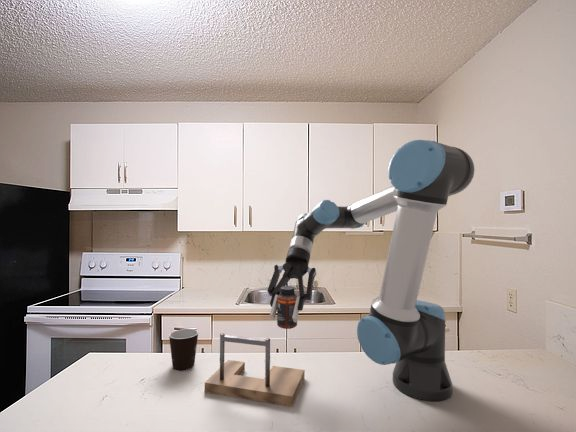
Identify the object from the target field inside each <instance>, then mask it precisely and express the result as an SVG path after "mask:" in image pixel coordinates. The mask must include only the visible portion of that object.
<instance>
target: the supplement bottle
mask: <svg viewBox="0 0 576 432" xmlns="http://www.w3.org/2000/svg"><path fill="white" fill-rule="evenodd" d="M297 297H298V296H297V294H296V293H295V286H290V285H287V286H286V285H285V286H283V287H281V293H280V294H279V295H278V298H277V312H276V316H277V317H276V323H277V327H279V328H281V329H285V330H286V329H287V330H290V329H294V328H296V327H297V326H298V322H297V323H296V322H294V321H293V319H292V316H293V312H294V307H295V303H296V299H297Z"/></svg>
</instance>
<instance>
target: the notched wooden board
mask: <svg viewBox="0 0 576 432" xmlns="http://www.w3.org/2000/svg"><path fill="white" fill-rule="evenodd" d="M245 363H246V362H245V361H240V360H233V359H227V360H226V361H224V380H220V367H219V368H218V369H217V370H216V371H215V372H214V373H213V374H212V375H210V377H208V378H207V379H206V380H205V382H204V392H205V393H207V394H215V395H219V396H220V395H221V396H225V397H233V398H238V399H242V400H250V401H256V402H260V403H261V402H262V403H267V404H268V403H269V404H272V405H273V404H274V405H281V406H286V407H291V408H292V407H294V405H295V403H296V400H297V397H298V395H299V393H300V390H301V388H302V386H303V384H304V381H305V369H299V368H292V367H286V366H279V365H278V366H277V365H273V366H272V367H270V386H269V387H266V386H265V377H264V378H259V377H251V376H245V375H242V374H243V373H244V371H246V369H245V368H246V367H245V366H246V364H245Z"/></svg>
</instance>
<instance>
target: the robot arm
mask: <svg viewBox="0 0 576 432" xmlns="http://www.w3.org/2000/svg"><path fill="white" fill-rule="evenodd" d="M475 171H476V170H475V164H474V161H473V159H472V157H471V156H470V155H469V153H467V152H466V150H465V151H464V150H463V149H461V148H459V147H455V146H450V145H446V144H443V143H440V142H438V141H435V140H429V139H427V140H426V139H413V140H410V141H408V142H407V143H404V144H403V145H401V147H400V148H398V149H397V150H396V151H395V152H394V153H393V156H392V157H391V159H390V161H389V164H388V168H387V174H388V179H389V181H390V184H391V186H389V187H386V188H384V189H382V190H380V191H378V192H376V193H373V194H372V195H369V196H367V197H365V198H362V199H360V200H358V201H356V202H354V203H352V204H349V205H346V206H338V204H336V203H335V202H333V201H331V200H330V199H324V200H321V201H320V202H319V203H318V204H316V205H315V206H314V207H313V208H312V209H311V210H309V212H308V213H307V212H305V213H301V214H300V215H299V216H298V217H297V219H296V221H295V224H294V229H293V232H292V236H291V241H290V243H289V246H288V251H287V254H286V258H285V261H284V262H283V264H282V265H279V266H278V264H275V265H274V267H273V268H274V270H273V274H272V277H271V279H270V283H269V285H268V288H267V293H268V295H269V296H270V297H271V299H270V302H269V305H270V307H271V309H270V313H269V316H270V318H271V320H275V319H276V316H277V298H278V295H279V294H280V293H281V287H283V286H286V285H287V283H288V282H290V280H291V279H296V280H297V284H298V290H299V296H297V299H296V303H295V307H294V312H293V316H292V319H293V321H294V322H296V323H297V324H298V318H299V312H302V311H303V309H304V305H305V301H307V300H308V301H311V300H312V296H313V288H314V281H315V277H316V275H317V270H316V268H315V267H312V268H311V267H309V264H310V260H311V254H312V250H313V246H314V241H315V237H316V236H317V235H319V234H320V233H322V232H323V231H324V230H326V229H352V230H353V229H359V228H362V227H364V225H365V224H366V223H368V222H371V221H373V220H377V219H380V218H381V217H385V216H388V215H390V214H392V213H395V212H396V214H395V219H394V225H393V229H392V233H391V238H390V244H389V248H388V253H387V257H386V264H385V268H384V273H383V276H382V283H381V286H380V292H379V296H378V297H376V298H373V299H372V301H371V303H370V304H371V305H370V309H369V313H368V315H365V316H363V317H362V318H360V320H359V321H358V323H357V327H356V335H357V336H356V337H357V339H358V342H359V343H358V344H359V345H360V347H361V349H362V351H363V352H364V354H365V355H366V356H367V357H368V358H369V359H370V360H371V361H372V362H374V363H375V364H378V365H381V366H386V365H387V366H388V365H391V364H393V365H394V367H393V371H392V384H393V385H394V386H395V388H396V389H398V391H400V392H402V393H403V394H404V395H407V396H409V397H412V398H415V399H418V400H422V401H431V402H436V401H437V402H438V401H439V402H441V401H444V400H447V399H449V398H451V397H452V395H453V382H452V379H451V375H450V372H449V370H448V367H447V364H446V315H445V309H444V307H443V306H441V305H439V304H437V303H433V302H430V301H425V300H419V299H418V296H419V292H420V287H421V283H422V279H423V275H424V272H425V271H424V270H425V267H426V262H427V258H428V257H427V256H428V253H429V249H430V244H431V240H432V237H433V236H432V235H433V231H434V227H435V223H436V218H437V214H438V211H440V210H441V209H443V208H445V207H446V206H447V205H448V200H449V197H451V196H454V195H457V194H459V193H461V192H463V191H464V190H466V188H468V187H469V186H470V184H471V182H472V181H473V178H474V175H475ZM282 271H284V272H283V274H282ZM307 273H308V278H307V286H306V291H305V289H304V288H305V287H304V276H305V275H306V274H307ZM280 274H282V276H281V278H280ZM279 279H280V280H279ZM305 292H306V293H305Z"/></svg>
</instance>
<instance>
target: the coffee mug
mask: <svg viewBox="0 0 576 432" xmlns="http://www.w3.org/2000/svg"><path fill="white" fill-rule="evenodd" d="M168 336H169V337H168V338H169V345H170V346H169V347H170V355H171V363H172V369H173V370H174V371H177V372H183V371H188V370H191V369H192V368H193V367H195V361H196V354H197V353H196V352H197V346H198V337H199V331H198V330H197V329H194V328H181V329H178V330H174V331H172V332H170V333H169V335H168Z"/></svg>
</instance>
